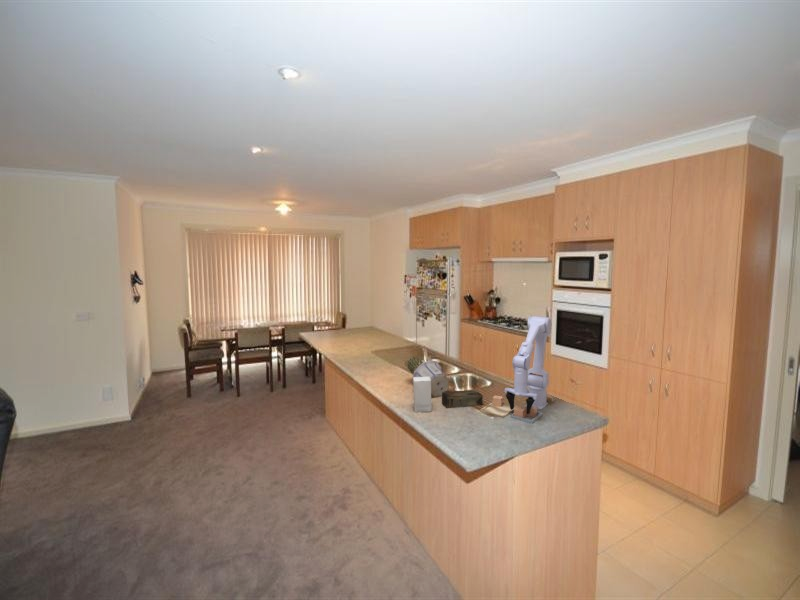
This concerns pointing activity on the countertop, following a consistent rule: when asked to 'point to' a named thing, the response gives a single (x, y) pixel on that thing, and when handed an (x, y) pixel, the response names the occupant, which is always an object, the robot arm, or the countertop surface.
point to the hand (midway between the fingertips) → (520, 411)
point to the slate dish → (527, 418)
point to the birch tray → (498, 410)
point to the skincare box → (422, 394)
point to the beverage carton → (461, 399)
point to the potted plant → (430, 374)
